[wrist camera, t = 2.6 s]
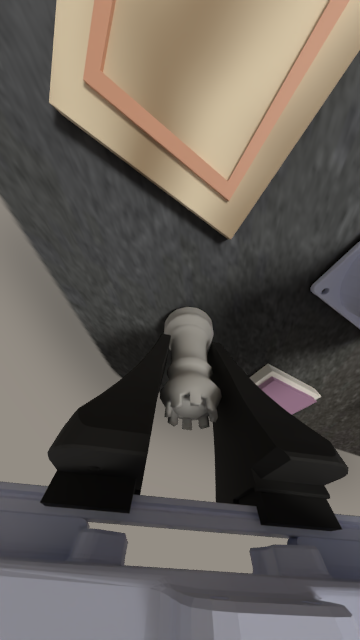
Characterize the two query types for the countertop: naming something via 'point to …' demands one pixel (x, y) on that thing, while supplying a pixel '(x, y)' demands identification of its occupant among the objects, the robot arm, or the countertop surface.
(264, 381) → the ink pad
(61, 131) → the countertop surface
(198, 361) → the rook chess piece
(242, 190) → the marked board
